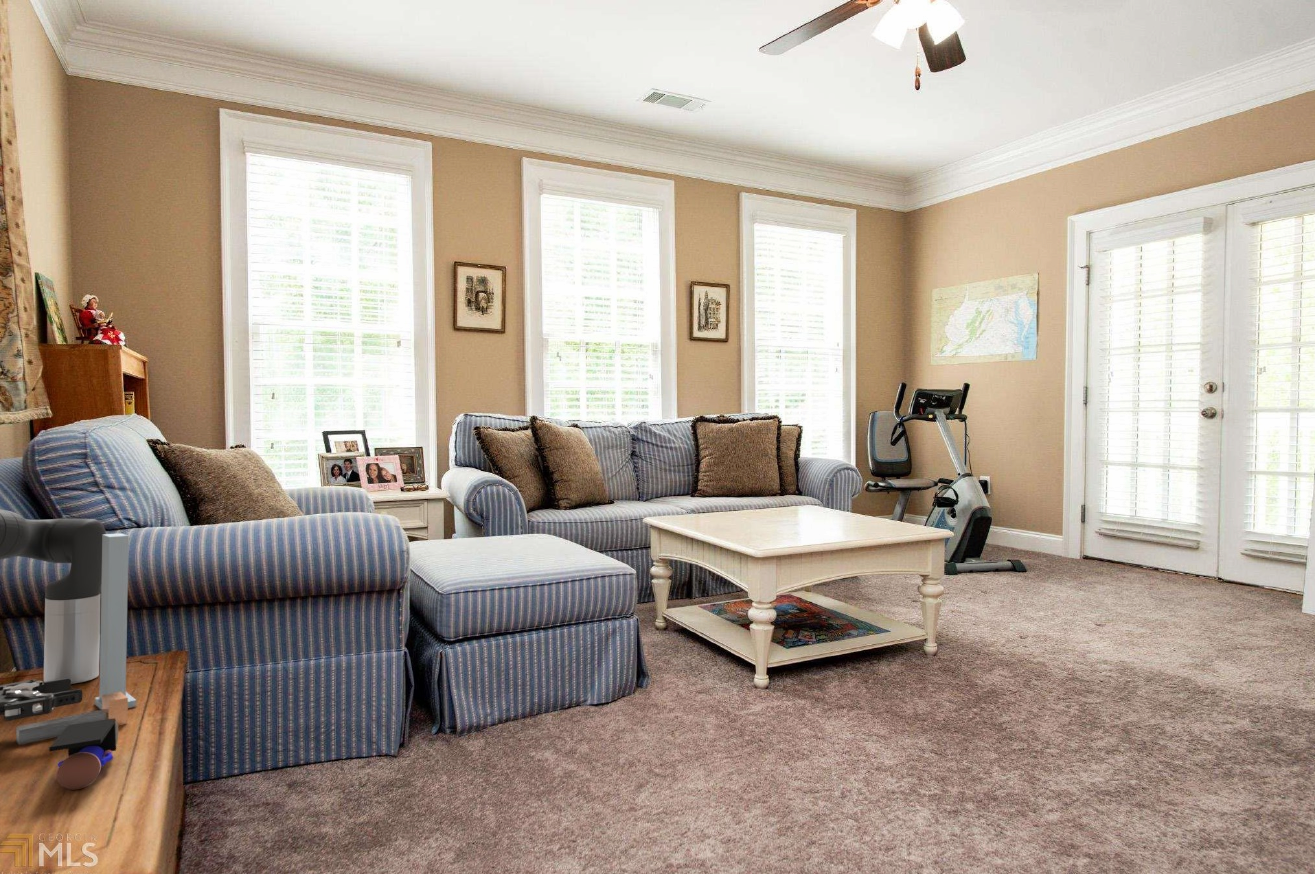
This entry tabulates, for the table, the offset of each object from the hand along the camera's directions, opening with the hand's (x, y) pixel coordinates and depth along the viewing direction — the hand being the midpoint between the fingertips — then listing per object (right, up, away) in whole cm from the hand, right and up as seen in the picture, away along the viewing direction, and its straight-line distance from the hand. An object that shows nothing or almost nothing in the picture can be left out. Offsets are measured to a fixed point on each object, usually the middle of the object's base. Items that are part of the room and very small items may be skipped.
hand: (76, 689), depth 135 cm
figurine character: (+14, -7, -17) cm, 23 cm away
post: (-2, -7, +12) cm, 14 cm away
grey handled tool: (0, -7, 0) cm, 7 cm away
